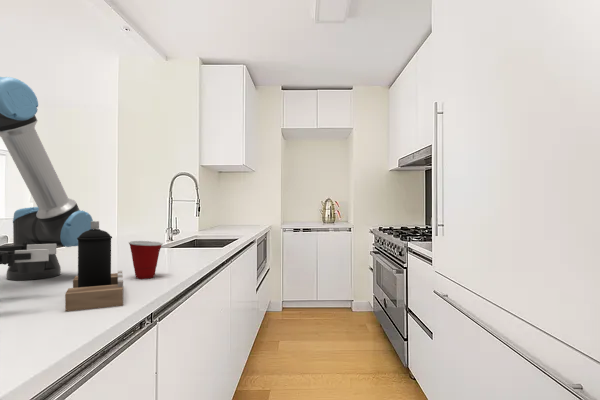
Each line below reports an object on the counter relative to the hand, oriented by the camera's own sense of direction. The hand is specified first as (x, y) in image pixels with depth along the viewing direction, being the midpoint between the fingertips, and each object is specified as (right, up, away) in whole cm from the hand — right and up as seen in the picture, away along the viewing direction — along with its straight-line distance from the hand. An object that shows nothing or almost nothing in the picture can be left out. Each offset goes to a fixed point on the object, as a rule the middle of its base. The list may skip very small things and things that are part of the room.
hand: (52, 251), depth 99 cm
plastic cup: (+11, -13, +32) cm, 36 cm away
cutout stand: (+9, -13, +4) cm, 16 cm away
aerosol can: (+9, -13, +4) cm, 16 cm away
